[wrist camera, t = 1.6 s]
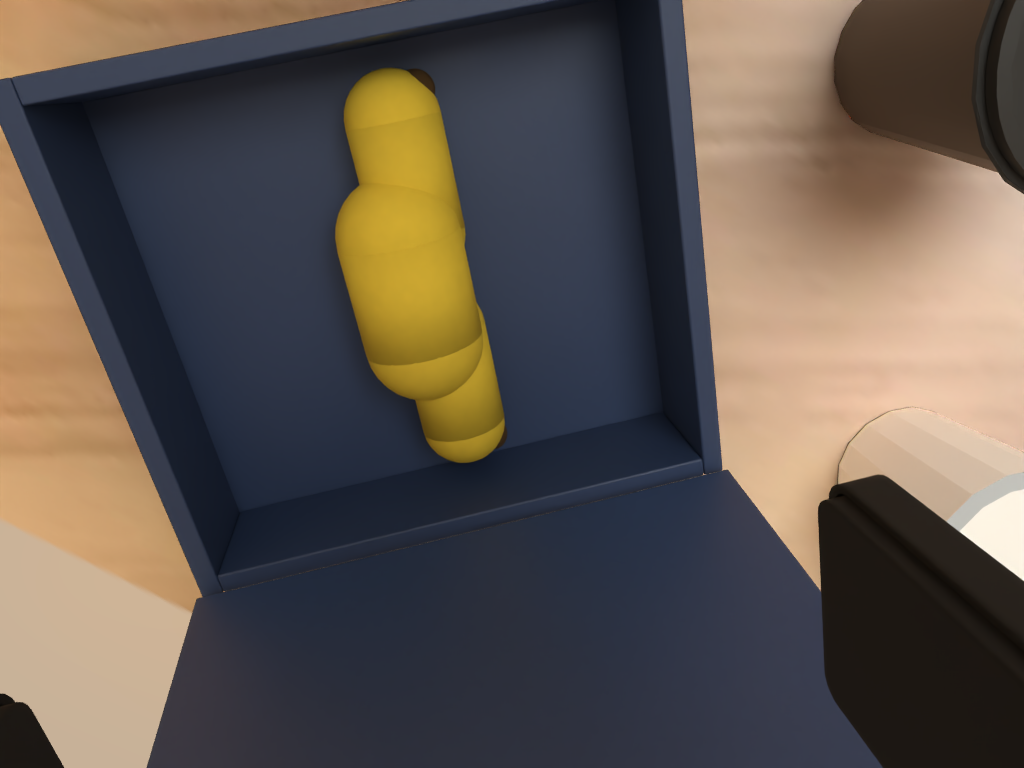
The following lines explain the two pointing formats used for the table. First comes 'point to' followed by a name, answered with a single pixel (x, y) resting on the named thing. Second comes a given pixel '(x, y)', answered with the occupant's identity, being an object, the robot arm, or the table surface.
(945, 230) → the table surface
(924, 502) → the white short cylinder
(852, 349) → the table surface
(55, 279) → the table surface
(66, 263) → the blue shallow open box
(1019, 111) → the coffee cup
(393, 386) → the yellow lobed rod
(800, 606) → the lid
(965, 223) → the table surface
